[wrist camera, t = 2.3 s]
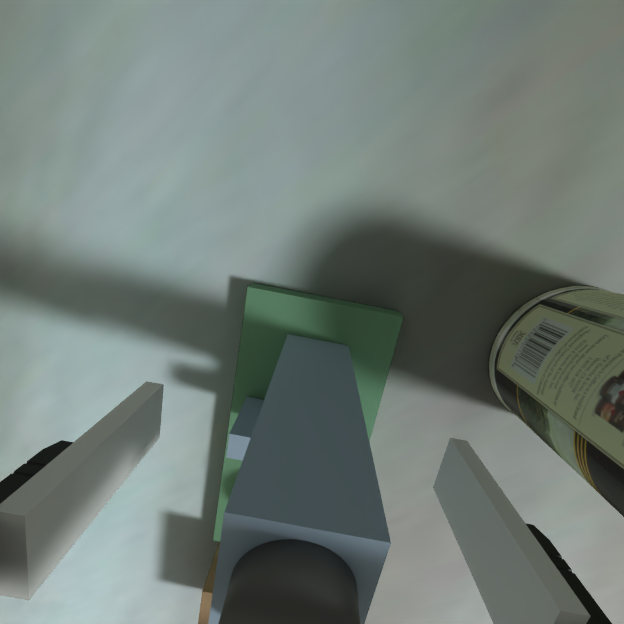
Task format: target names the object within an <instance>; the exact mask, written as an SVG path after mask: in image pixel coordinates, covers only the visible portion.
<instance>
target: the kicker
mask: <svg viewBox="0 0 624 624" xmlns="http://www.w3.org/2000/svg"><path fill="white" fill-rule="evenodd" d="M226 458H231V459H237V460H242V464H241V467H240V469H239V472H238V475H237V478H236V481H235V484H234V486H233V489H232V492H231V495H230V498H229V500H228V503H227V506H226V509H225V512H224V518H223V525H222V532H221V539H220V546H219V553H218V559H217V566H216V573H215V580H214V587H213V594H212V601H211V608H210V615H209V622H208V624H364V622H365V619H366V616H367V613H368V610H369V607H370V604H371V601H372V598H373V595H374V592H375V589H376V586H377V583H378V580H379V577H380V574H381V571H382V568H383V565H384V562H385V559H386V556H387V553H388V550H389V547H390V544H391V542H390V537H389V532H388V527H387V523H386V518H385V513H384V509H383V504H382V499H381V495H380V490H379V485H378V481H377V476H376V471H375V467H374V462H373V457H372V453H371V448H370V443H369V438H368V434H367V429H366V424H365V420H364V415H363V410H362V406H361V401H360V396H359V392H358V387H357V382H356V378H355V373H354V368H353V364H352V359H351V354H350V349H349V346H348V345H342V344H337V343H332V342H327V341H322V340H316V339H311V338H306V337H301V336H296V335H290V334H287V337H286V340H285V343H284V346H283V348H282V351H281V354H280V357H279V360H278V362H277V365H276V368H275V371H274V374H273V377H272V379H271V382H270V385H269V388H268V391H267V393H266V396H265V399H264V400H262V399H257V398H252V397H246V399H245V401H244V404H243V406H242V408H241V410H240V412H239V414H238V416H237V419H236V421H235V423H234V425H233V427H232V429H231V431H230V433H229V440H228V447H227V455H226Z"/></svg>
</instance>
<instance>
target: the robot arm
mask: <svg viewBox="0 0 624 624" xmlns="http://www.w3.org/2000/svg"><path fill="white" fill-rule="evenodd" d="M163 386H164V385H163V384H158V383H152V382H145V383H144V384H143V385H142V386H141V387H139V388H138V389H137V390H136V391H135V392H133V393H132V394H131V395H130V396H129V397H127V398H126V399H125V400H124V401H123V402H121V403H120V404H119V405H118V406H117V407H115V408H114V409H113V410H112V411H111V412H109V413H108V414H107V415H106V416H105V417H103V418H102V419H101V420H100V421H99V422H98V423H96V424H95V425H94V426H93V427H92V428H90V429H89V430H88V431H87V432H86V433H84V434H83V435H82V436H81V437H80V438H78V439H77V440H76V441H75V442H74V443H73V442H68V441H60V442H58V443H55V444H53V445H51V446H49V447H47V448H45V449H43V450H41V451H40V452H39V453H38V454H36V455H35V456H34V457H32V458H31V459H30V460H28V461H27V463H26V464H23V465H22V466H21V467H19V468H18V469H17V470H15V471H14V473H13V474H10V475H9V476H8V477H6V478H5V479H4V480H2V481H1V482H0V595H2V596H8V597H14V598H19V599H25V600H30V599H31V597H32V596H33V595H34V594H35V592H36V591H37V590H38V589H39V587H40V586H41V585H42V584H43V582H44V581H45V580H46V579H47V577H48V576H49V575H50V574H51V572H52V571H53V570H54V569H55V567H56V566H57V565H58V564H59V562H60V561H61V560H62V559H63V557H64V556H65V555H66V554H67V552H68V551H69V550H70V549H71V547H72V546H73V545H74V544H75V542H76V541H77V540H78V539H79V537H80V536H81V535H82V534H83V532H84V531H85V530H86V529H87V527H88V526H89V525H90V524H91V522H92V521H93V520H94V519H95V517H96V516H97V515H98V514H99V512H100V511H101V510H102V509H103V507H104V506H105V505H106V504H107V502H108V501H109V500H110V499H111V497H112V496H113V495H114V494H115V492H116V491H117V490H118V489H119V487H120V486H121V485H122V484H123V482H124V481H125V480H126V479H127V477H128V476H129V475H130V474H131V472H132V471H133V470H134V469H135V467H136V466H137V465H138V464H139V462H140V461H141V460H142V459H143V457H144V456H145V455H146V454H147V452H148V451H149V450H150V449H151V447H152V446H153V445H154V444H155V442H156V441H157V440H158V439H159V437H160V424H161V412H162V399H163ZM433 488H434V490H435V492H436V495H437V497H438V499H439V501H440V504H441V506H442V508H443V510H444V513H445V515H446V517H447V519H448V522H449V524H450V526H451V528H452V531H453V533H454V535H455V538H456V540H457V542H458V544H459V547H460V549H461V551H462V553H463V556H464V558H465V560H466V562H467V565H468V567H469V569H470V571H471V574H472V576H473V578H474V580H475V583H476V585H477V587H478V589H479V592H480V594H481V596H482V598H483V601H484V603H485V605H486V607H487V610H488V612H489V614H490V616H491V619H492V621H493V623H494V624H612V623H611V622H610V621H609V619H608V618H607V617H606V615H605V614H604V613H603V611H602V610H601V609H600V607H599V606H598V605H597V603H596V602H595V600H594V599H593V598H592V596H591V595H590V594H589V592H588V591H587V590H586V588H585V587H584V586H583V584H582V583H581V582H580V580H579V579H578V578H577V576H576V575H575V574H574V573H572V570H571V568H570V567H569V566H568V564H567V563H566V562H565V560H564V559H562V558H561V555H560V554H559V552H558V551H557V550H556V548H555V547H554V546H553V544H552V543H551V542H550V540H549V539H548V538H547V537H546V536H544V535H543V534H542V533H541V532H540V531H539V530H538V529H537V528H536V527H535V526H534V525H531V524H525V522H524V521H523V520H522V518H521V517H520V515H519V514H518V513H517V511H516V510H515V508H514V507H513V505H512V504H511V503H510V501H509V500H508V498H507V497H506V496H505V494H504V493H503V491H502V490H501V488H500V487H499V486H498V484H497V483H496V481H495V480H494V479H493V477H492V476H491V474H490V473H489V472H488V470H487V469H486V467H485V466H484V464H483V463H482V462H481V460H480V459H479V457H478V456H477V455H476V453H475V452H474V450H473V449H472V447H471V446H470V445H469V443H468V442H467V441H465V440H460V439H454V438H450V440H449V443H448V446H447V449H446V452H445V455H444V458H443V461H442V463H441V466H440V469H439V472H438V475H437V478H436V481H435V484H434V487H433Z"/></svg>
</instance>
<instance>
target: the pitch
mask: <svg viewBox="0 0 624 624" xmlns="http://www.w3.org/2000/svg"><path fill="white" fill-rule="evenodd" d="M403 318H404V317H403V316H402V315H401V314H400V312H399V311H396V310H390V309H385V308H380V307H375V306H370V305H364V304H359V303H354V302H349V301H344V300H339V299H333V298H328V297H323V296H318V295H313V294H308V293H302V292H297V291H292V290H287V289H282V288H276V287H271V286H266V285H261V284H256V283H252V284H251V285H249V286H248V287H247V294H246V302H245V309H244V317H243V324H242V331H241V339H240V346H239V353H238V361H237V368H236V375H235V383H234V390H233V397H232V405H231V412H230V419H229V427H228V434H227V441H226V449H225V456H224V463H223V471H222V478H221V486H220V493H219V500H218V508H217V515H216V522H215V530H214V537H213V541H216V542H220V539H221V532H222V525H223V518H224V512H225V509H226V506H227V503H228V500H229V498H230V495H231V492H232V489H233V486H234V484H235V481H236V478H237V475H238V472H239V469H240V467H241V464H242V460H237V459H231V458H226V455H227V447H228V440H229V433H230V431H231V429H232V427H233V425H234V423H235V421H236V419H237V416H238V414H239V412H240V410H241V408H242V406H243V404H244V401H245V399H246V397H252V398H257V399H262V400H264V399H265V396H266V393H267V391H268V388H269V385H270V382H271V379H272V377H273V374H274V371H275V368H276V365H277V362H278V360H279V357H280V354H281V351H282V348H283V346H284V343H285V340H286V337H287V334H290V335H296V336H301V337H306V338H311V339H316V340H322V341H327V342H332V343H337V344H342V345H348V346H349V349H350V354H351V359H352V364H353V368H354V373H355V378H356V382H357V387H358V392H359V396H360V401H361V406H362V410H363V415H364V420H365V424H366V429H367V434H368V438H369V440H370V437H371V433H372V430H373V426H374V422H375V419H376V415H377V412H378V408H379V404H380V401H381V397H382V394H383V390H384V386H385V383H386V379H387V375H388V372H389V368H390V365H391V361H392V357H393V354H394V350H395V347H396V343H397V339H398V336H399V332H400V329H401V325H402V321H403Z"/></svg>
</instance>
